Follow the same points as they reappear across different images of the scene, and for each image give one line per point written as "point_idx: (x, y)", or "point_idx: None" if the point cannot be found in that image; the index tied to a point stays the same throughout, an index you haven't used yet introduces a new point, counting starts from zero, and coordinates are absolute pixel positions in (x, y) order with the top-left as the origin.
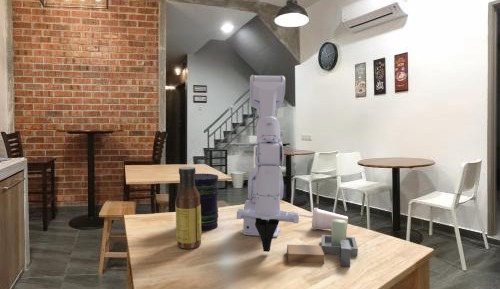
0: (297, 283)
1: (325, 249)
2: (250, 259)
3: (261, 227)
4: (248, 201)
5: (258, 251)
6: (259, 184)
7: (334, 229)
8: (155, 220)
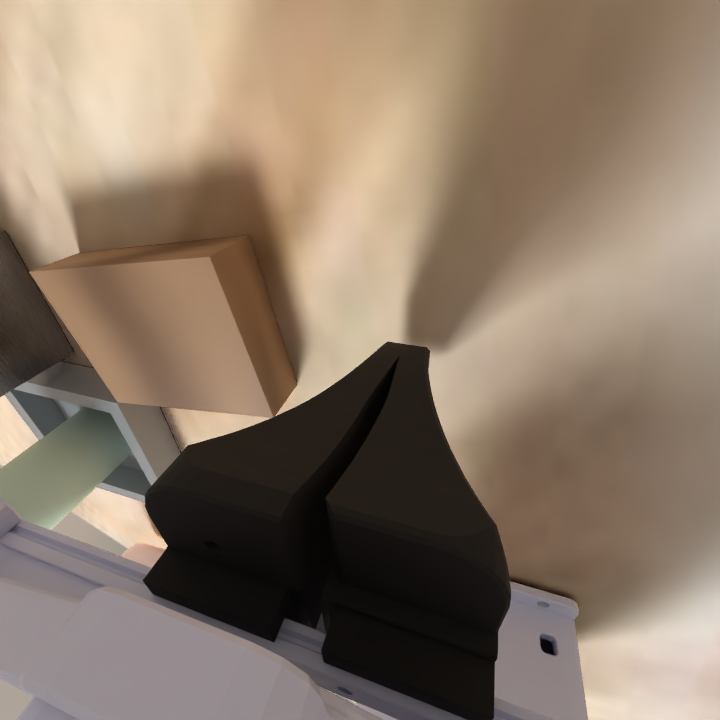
0: None
1: None
2: (545, 243)
3: (392, 496)
4: None
5: (474, 395)
6: None
7: (29, 489)
8: None
